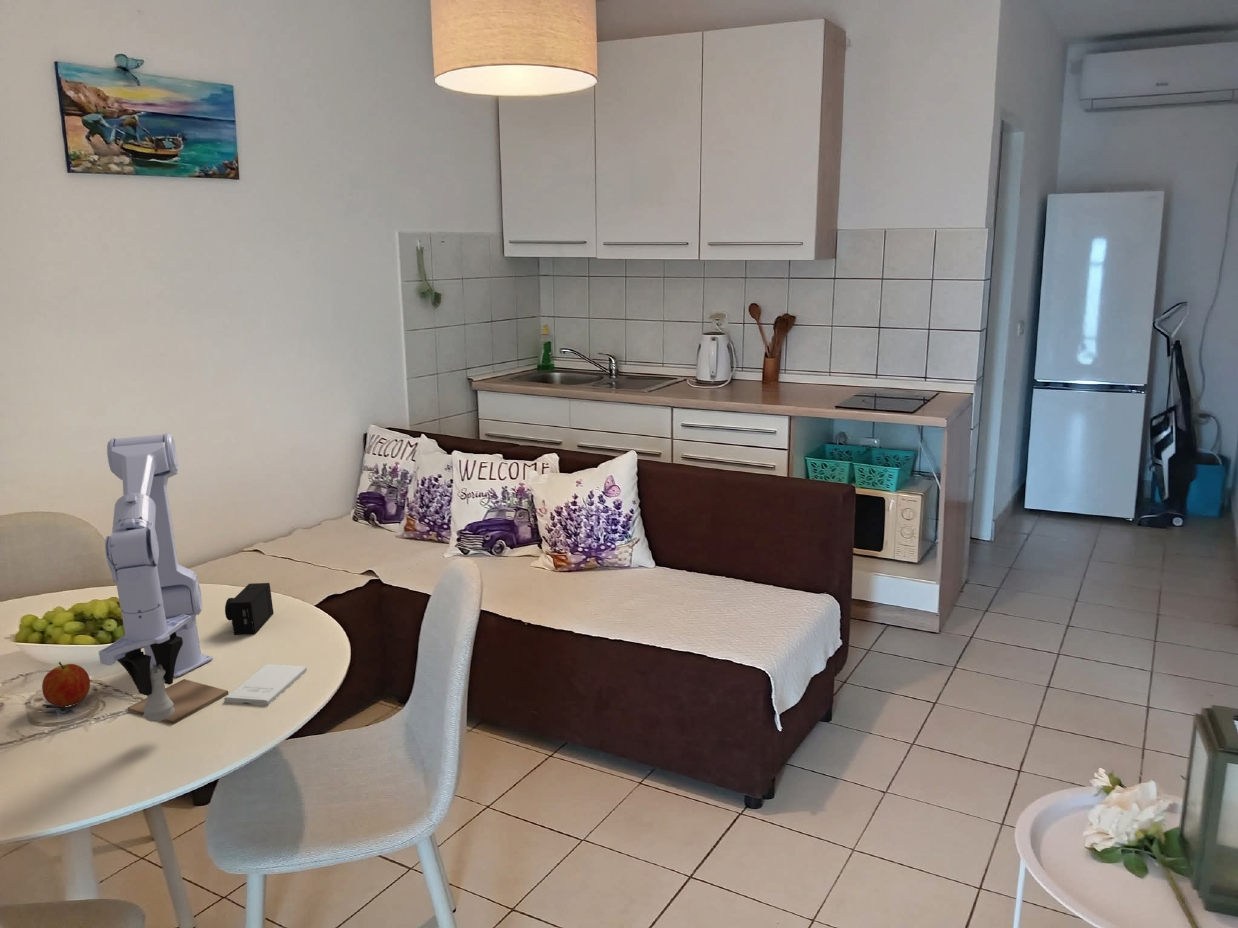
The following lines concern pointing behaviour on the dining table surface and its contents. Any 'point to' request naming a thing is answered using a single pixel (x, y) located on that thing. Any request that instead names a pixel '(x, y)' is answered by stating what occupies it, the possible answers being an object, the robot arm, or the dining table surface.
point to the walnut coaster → (185, 699)
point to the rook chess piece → (158, 697)
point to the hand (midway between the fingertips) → (156, 688)
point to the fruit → (66, 685)
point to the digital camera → (250, 609)
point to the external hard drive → (266, 684)
